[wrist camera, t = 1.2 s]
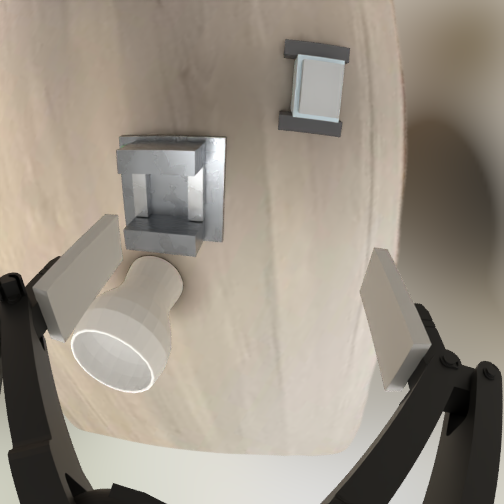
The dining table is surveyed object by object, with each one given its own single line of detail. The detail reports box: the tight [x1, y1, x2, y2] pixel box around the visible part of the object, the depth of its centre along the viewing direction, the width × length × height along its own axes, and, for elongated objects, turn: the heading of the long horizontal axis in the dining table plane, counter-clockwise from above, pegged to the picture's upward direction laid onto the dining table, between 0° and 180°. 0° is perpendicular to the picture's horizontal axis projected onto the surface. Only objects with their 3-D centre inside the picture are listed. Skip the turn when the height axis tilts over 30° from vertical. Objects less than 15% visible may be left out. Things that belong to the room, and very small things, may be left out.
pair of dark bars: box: [278, 39, 350, 137], centre depth 27 cm, size 8×6×4 cm, turn 176°
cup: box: [71, 256, 183, 393], centre depth 35 cm, size 11×11×15 cm
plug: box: [291, 54, 345, 123], centre depth 24 cm, size 5×4×10 cm
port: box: [116, 135, 226, 257], centre depth 33 cm, size 12×12×5 cm
